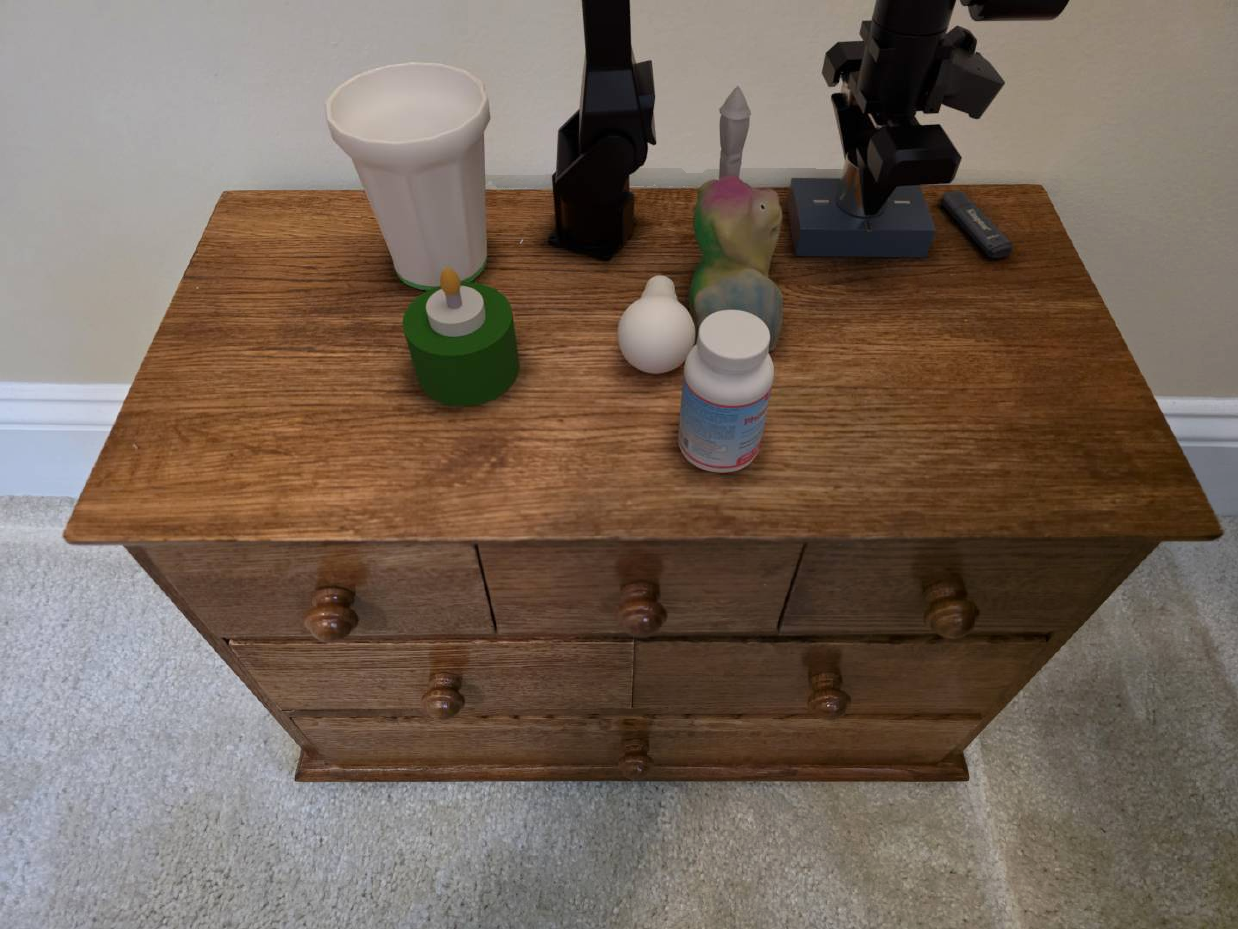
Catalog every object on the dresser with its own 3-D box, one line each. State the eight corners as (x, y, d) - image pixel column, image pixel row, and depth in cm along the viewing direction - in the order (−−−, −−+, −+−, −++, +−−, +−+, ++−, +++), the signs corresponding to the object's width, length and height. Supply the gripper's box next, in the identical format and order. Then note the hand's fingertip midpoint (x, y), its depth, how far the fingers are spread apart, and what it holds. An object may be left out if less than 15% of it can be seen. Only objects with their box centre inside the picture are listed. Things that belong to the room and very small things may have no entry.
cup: (529, 282, 72) (511, 119, 60) (394, 323, 69) (346, 159, 57) (482, 208, 79) (457, 48, 67) (357, 242, 76) (307, 80, 64)
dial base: (795, 258, 74) (801, 229, 72) (785, 202, 80) (791, 173, 77) (927, 260, 74) (937, 231, 71) (908, 203, 79) (917, 174, 77)
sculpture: (795, 365, 66) (818, 265, 58) (691, 369, 65) (700, 270, 58) (765, 252, 75) (782, 153, 67) (674, 255, 74) (680, 156, 67)
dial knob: (840, 217, 73) (851, 169, 69) (832, 187, 76) (843, 140, 72) (891, 217, 73) (905, 169, 69) (881, 188, 76) (895, 140, 72)
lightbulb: (703, 306, 70) (702, 381, 62) (636, 320, 72) (626, 395, 64) (686, 243, 67) (684, 314, 59) (616, 260, 68) (604, 331, 60)
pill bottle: (754, 482, 58) (778, 373, 50) (671, 469, 59) (680, 359, 50) (762, 420, 62) (786, 308, 53) (684, 408, 63) (694, 295, 54)
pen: (718, 242, 76) (734, 97, 65) (702, 227, 77) (716, 82, 66) (740, 234, 76) (760, 89, 65) (724, 219, 78) (741, 75, 67)
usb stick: (935, 203, 79) (940, 189, 78) (959, 199, 80) (964, 185, 79) (986, 262, 74) (992, 248, 72) (1012, 257, 74) (1018, 243, 73)
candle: (476, 421, 62) (455, 323, 54) (395, 380, 65) (364, 281, 57) (539, 357, 66) (528, 257, 58) (461, 320, 69) (440, 221, 61)
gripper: (1064, 73, 56) (985, 256, 69) (969, -35, 68) (916, 138, 80) (908, 81, 56) (857, 264, 68) (839, -30, 67) (805, 144, 80)
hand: (862, 198), depth 74 cm, fingers closed on dial knob, 5 cm apart
